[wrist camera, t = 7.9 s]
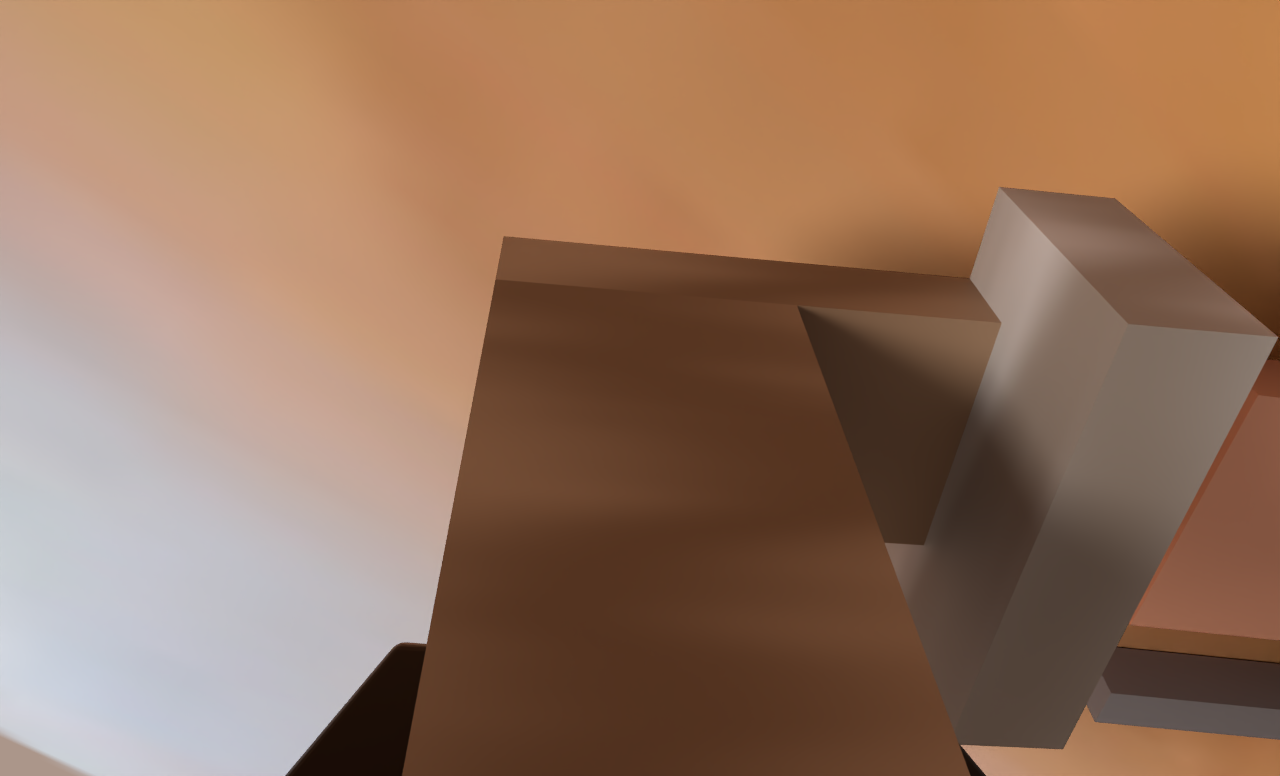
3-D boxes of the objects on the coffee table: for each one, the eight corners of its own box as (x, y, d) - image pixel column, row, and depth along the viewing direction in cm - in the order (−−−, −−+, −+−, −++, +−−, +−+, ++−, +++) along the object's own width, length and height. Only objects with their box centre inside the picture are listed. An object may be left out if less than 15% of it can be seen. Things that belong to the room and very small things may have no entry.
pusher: (1114, 198, 12) (1944, 901, 5) (973, 560, 16) (1337, 1328, 8) (507, 137, 12) (348, 850, 4) (490, 530, 15) (381, 1340, 7)
